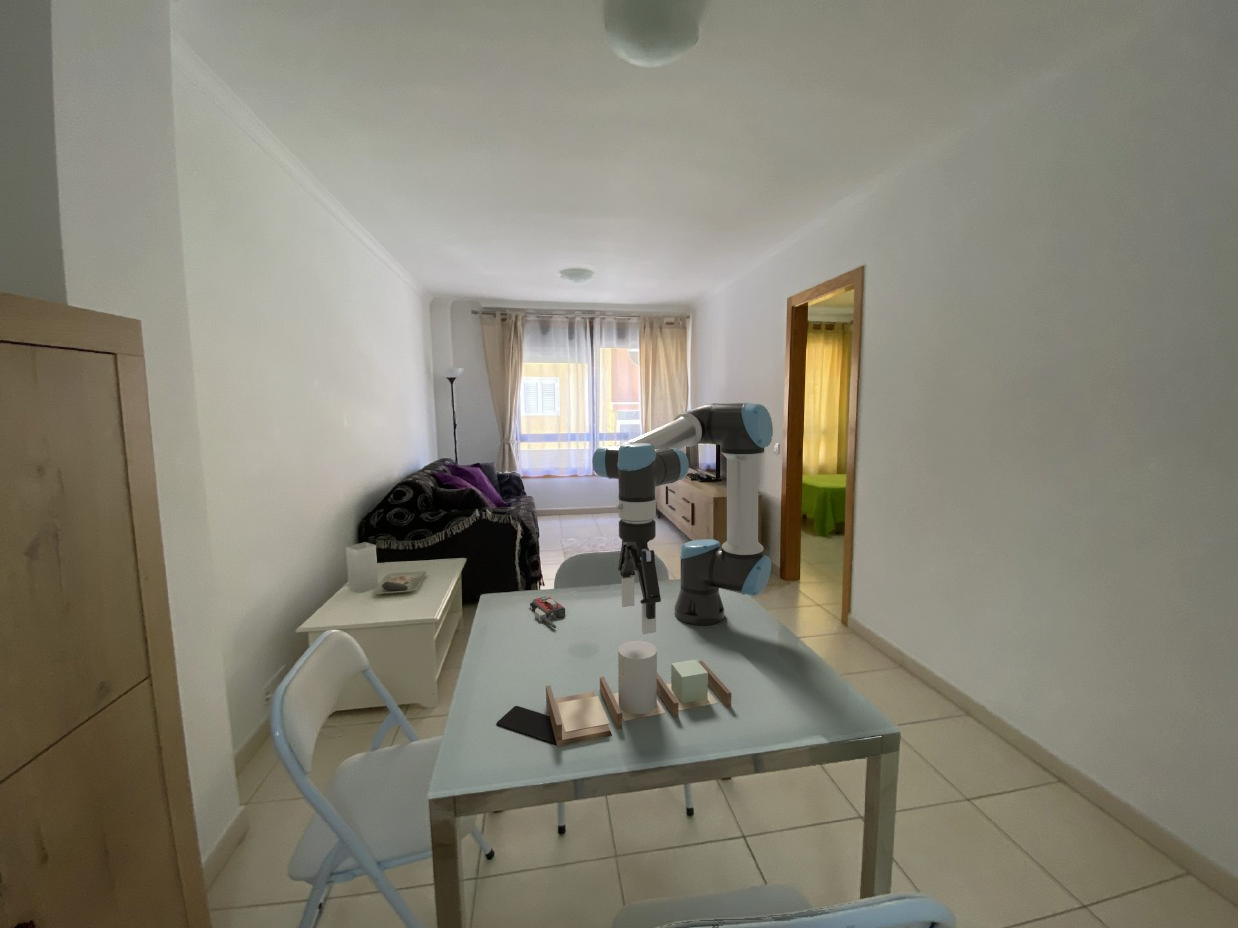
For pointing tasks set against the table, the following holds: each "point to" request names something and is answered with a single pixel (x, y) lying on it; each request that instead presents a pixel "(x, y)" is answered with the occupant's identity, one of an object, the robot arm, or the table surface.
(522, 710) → the smartphone
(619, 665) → the white cylinder
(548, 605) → the walkie-talkie
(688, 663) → the sage block
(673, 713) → the frame
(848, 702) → the table surface
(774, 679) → the table surface
